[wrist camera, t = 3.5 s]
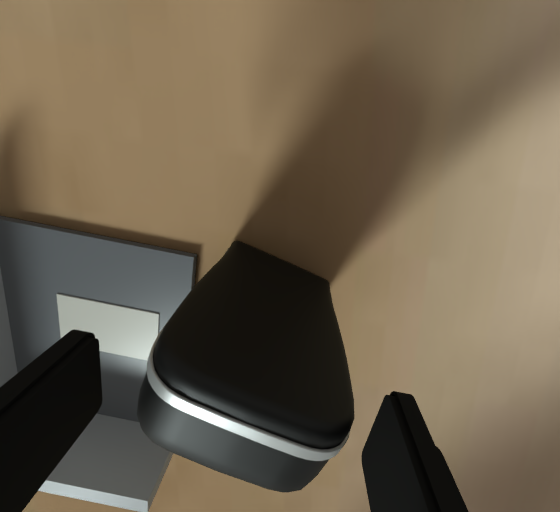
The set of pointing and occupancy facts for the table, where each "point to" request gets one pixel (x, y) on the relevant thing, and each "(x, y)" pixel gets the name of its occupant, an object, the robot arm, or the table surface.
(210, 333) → the battery charger
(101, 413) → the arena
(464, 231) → the table surface
